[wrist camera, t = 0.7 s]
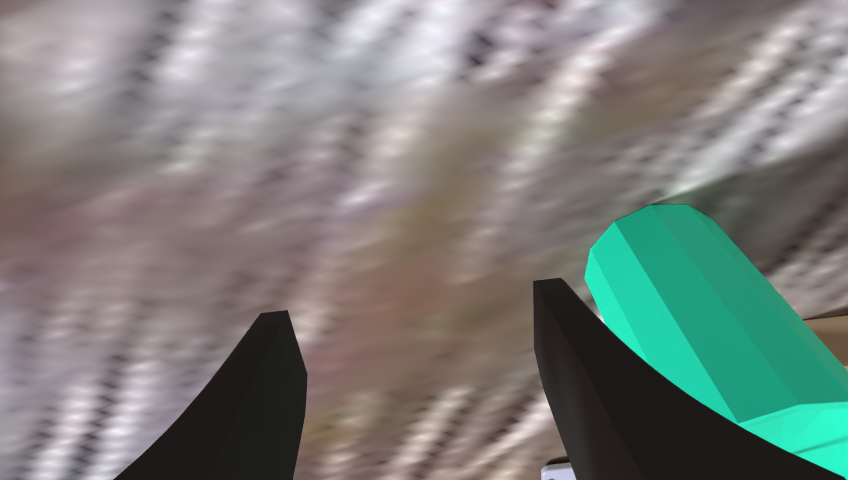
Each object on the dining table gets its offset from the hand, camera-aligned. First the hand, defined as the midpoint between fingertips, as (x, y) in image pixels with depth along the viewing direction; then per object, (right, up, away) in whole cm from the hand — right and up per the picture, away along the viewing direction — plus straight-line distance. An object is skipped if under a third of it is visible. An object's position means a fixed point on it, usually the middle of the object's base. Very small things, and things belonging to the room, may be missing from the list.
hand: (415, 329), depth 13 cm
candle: (+10, +1, +13) cm, 16 cm away
